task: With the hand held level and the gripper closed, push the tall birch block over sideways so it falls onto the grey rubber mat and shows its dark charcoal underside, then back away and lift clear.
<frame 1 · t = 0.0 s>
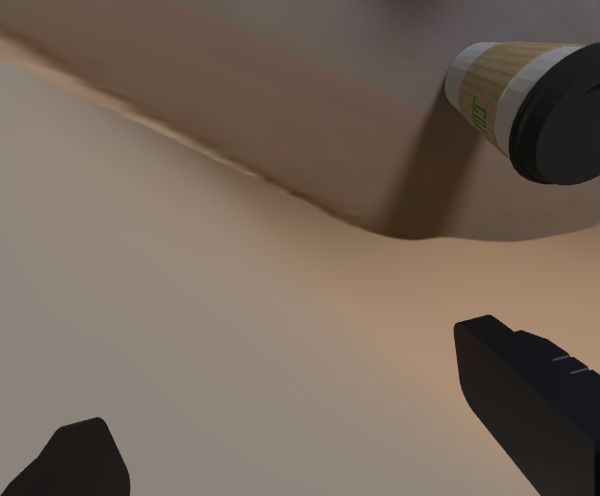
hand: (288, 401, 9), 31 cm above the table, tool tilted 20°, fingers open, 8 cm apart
coffee cup: (473, 77, 38), on the table
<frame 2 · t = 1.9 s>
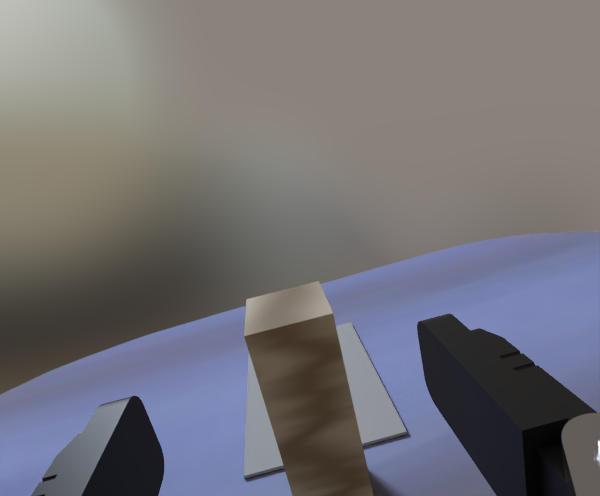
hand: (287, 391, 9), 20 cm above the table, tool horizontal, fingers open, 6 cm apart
grey mat: (310, 382, 41), on the table
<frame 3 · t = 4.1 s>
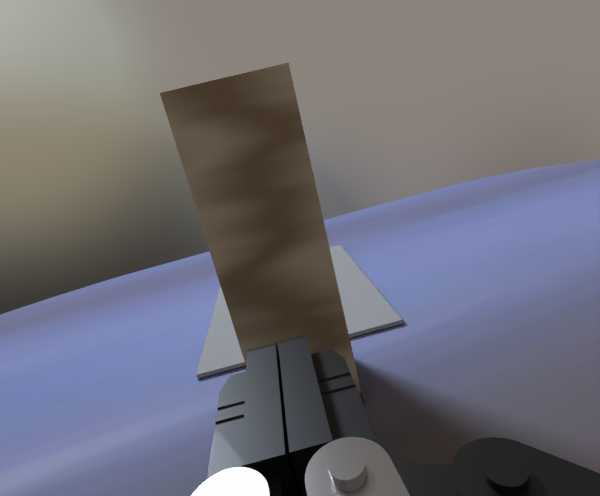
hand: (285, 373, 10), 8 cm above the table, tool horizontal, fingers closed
birch block: (309, 388, 21), on the table
grey mat: (289, 294, 35), on the table
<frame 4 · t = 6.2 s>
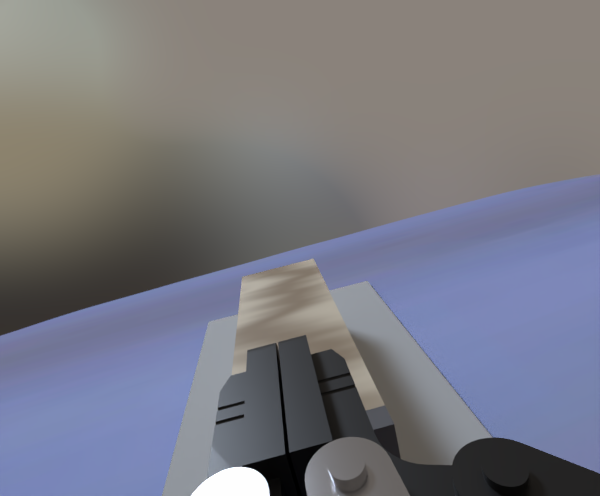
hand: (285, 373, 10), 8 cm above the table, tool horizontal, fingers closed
grey mat: (302, 371, 23), on the table
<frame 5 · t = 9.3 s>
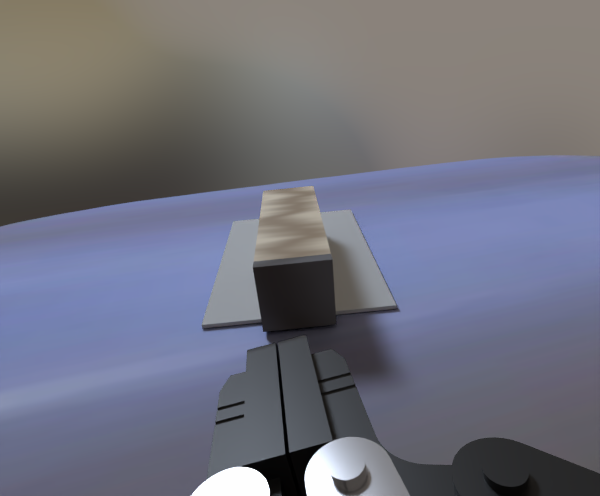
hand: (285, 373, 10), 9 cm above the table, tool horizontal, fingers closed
birch block: (296, 297, 25), point 3 cm above the table, tilted 90°, touching grey mat
grey mat: (294, 255, 36), on the table
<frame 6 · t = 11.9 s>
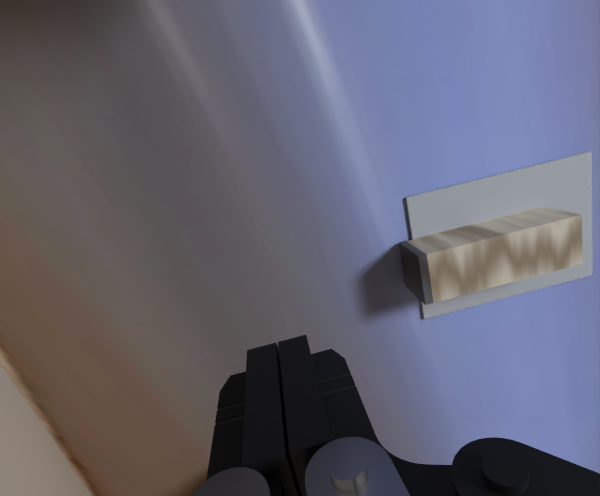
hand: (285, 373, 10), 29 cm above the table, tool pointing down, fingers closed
birch block: (411, 272, 38), point 3 cm above the table, tilted 90°, touching grey mat
grey mat: (503, 237, 41), on the table
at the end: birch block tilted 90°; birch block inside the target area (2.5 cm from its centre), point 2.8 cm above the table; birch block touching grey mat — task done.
